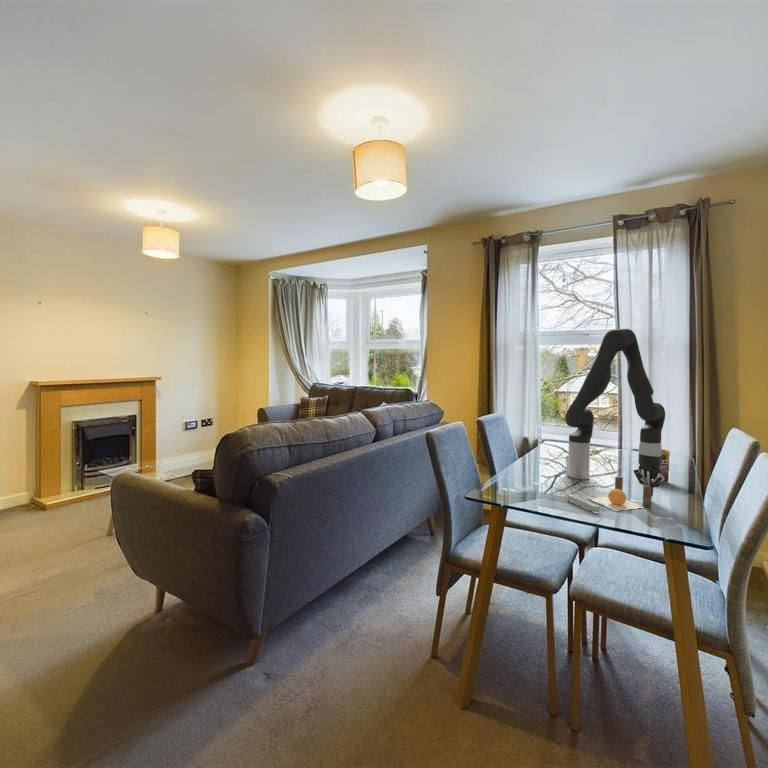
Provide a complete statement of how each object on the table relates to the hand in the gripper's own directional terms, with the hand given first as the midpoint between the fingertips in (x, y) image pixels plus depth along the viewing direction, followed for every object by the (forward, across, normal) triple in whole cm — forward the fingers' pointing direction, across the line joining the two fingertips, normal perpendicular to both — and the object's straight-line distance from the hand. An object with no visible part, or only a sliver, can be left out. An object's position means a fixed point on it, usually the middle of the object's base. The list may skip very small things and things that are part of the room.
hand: (648, 496), depth 163 cm
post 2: (+2, +7, -8) cm, 10 cm away
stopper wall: (+2, 0, -31) cm, 31 cm away
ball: (-2, +1, -16) cm, 17 cm away
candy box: (+2, -20, +27) cm, 34 cm away
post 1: (+2, -6, -8) cm, 10 cm away
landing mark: (+2, 0, -16) cm, 16 cm away
